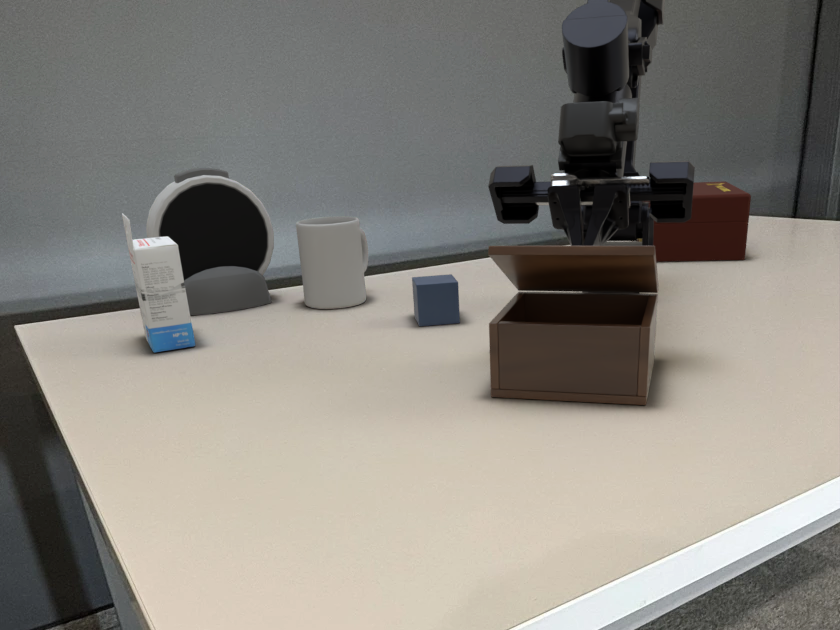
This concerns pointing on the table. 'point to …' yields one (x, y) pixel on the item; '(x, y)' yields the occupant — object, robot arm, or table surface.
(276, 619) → the table surface
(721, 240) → the box
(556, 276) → the lid
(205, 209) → the alarm clock
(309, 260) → the mug
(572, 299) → the box
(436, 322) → the block
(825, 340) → the table surface
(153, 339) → the ink box
